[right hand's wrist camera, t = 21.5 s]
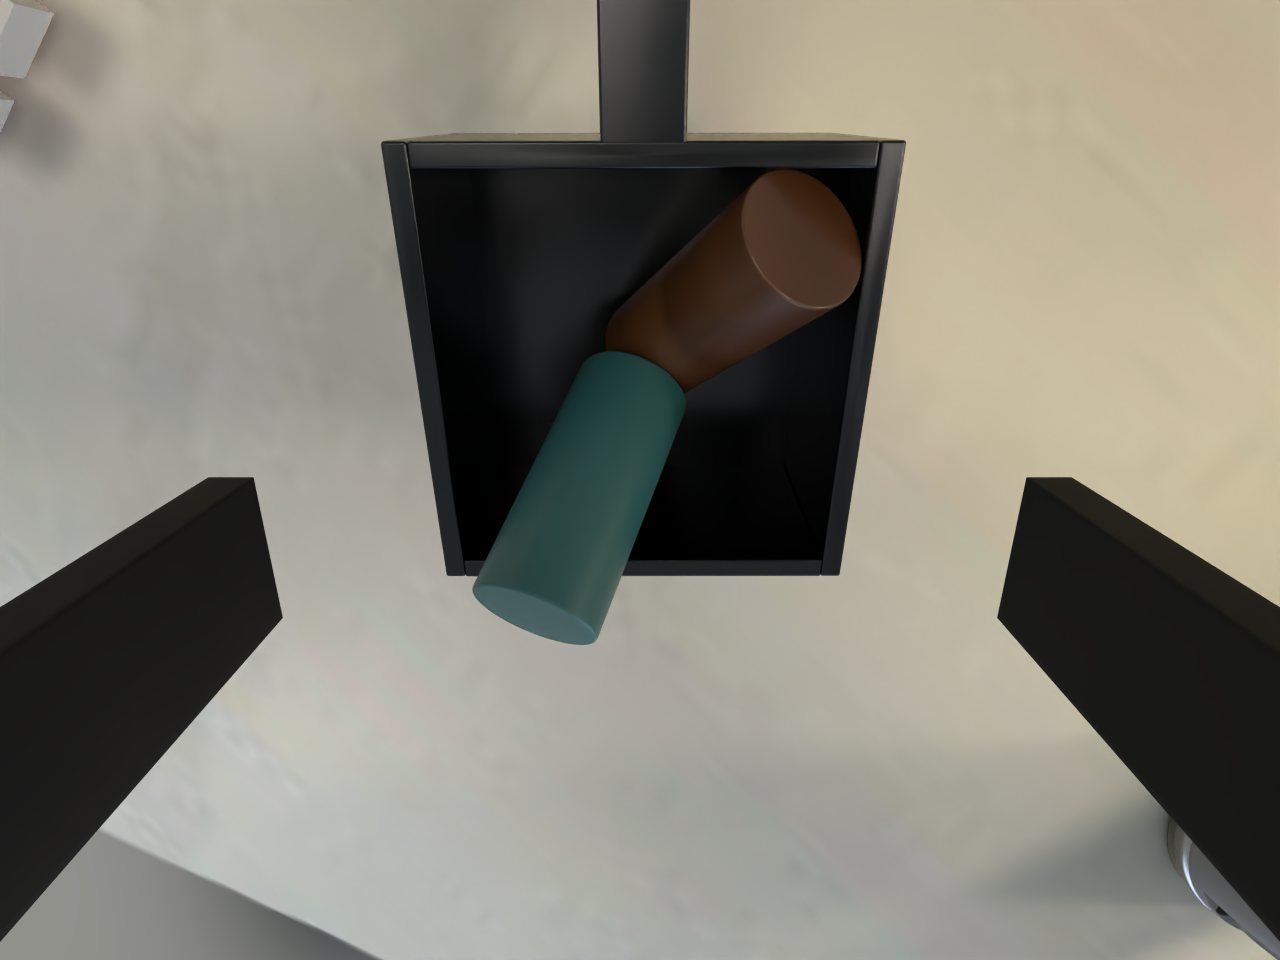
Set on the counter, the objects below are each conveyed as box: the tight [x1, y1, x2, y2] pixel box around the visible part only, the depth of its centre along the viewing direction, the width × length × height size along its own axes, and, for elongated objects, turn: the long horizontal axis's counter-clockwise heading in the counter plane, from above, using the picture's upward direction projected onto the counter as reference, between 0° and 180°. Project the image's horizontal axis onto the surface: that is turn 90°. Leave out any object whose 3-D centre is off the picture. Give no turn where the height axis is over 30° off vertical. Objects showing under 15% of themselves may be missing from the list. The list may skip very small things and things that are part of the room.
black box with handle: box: [381, 0, 906, 576], centre depth 19 cm, size 12×28×7 cm, turn 0°
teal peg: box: [473, 351, 686, 645], centre depth 21 cm, size 4×4×8 cm
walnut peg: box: [605, 169, 862, 393], centre depth 21 cm, size 4×4×8 cm
